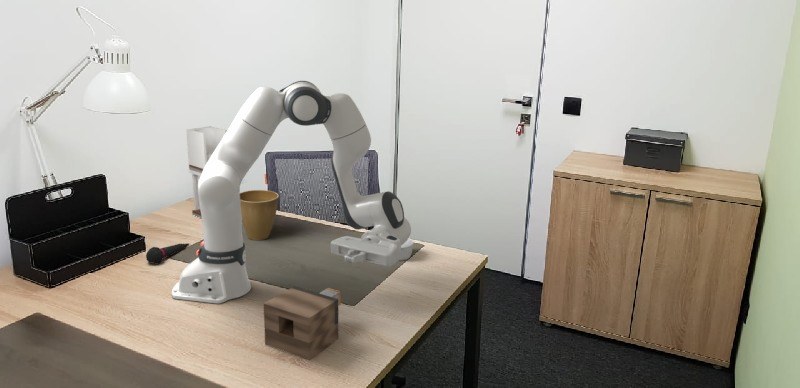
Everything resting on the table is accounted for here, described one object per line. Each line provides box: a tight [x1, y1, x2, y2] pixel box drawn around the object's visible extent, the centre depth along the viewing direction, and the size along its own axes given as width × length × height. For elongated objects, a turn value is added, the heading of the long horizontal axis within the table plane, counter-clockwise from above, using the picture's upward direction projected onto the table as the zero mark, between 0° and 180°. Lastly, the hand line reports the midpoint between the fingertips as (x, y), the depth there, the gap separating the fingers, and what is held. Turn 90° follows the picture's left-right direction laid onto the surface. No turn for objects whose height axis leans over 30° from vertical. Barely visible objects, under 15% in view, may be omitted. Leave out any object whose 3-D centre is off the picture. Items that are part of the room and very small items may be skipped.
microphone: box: [145, 243, 190, 264], centre depth 209 cm, size 6×6×20 cm
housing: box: [263, 285, 339, 361], centre depth 156 cm, size 12×14×11 cm
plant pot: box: [240, 189, 279, 241], centre depth 226 cm, size 15×15×16 cm
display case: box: [185, 126, 228, 219], centre depth 245 cm, size 11×11×35 cm
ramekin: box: [398, 238, 415, 262], centre depth 213 cm, size 11×11×5 cm
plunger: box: [319, 287, 341, 307], centre depth 161 cm, size 14×4×4 cm, turn 150°
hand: (348, 260), depth 170 cm, fingers closed
